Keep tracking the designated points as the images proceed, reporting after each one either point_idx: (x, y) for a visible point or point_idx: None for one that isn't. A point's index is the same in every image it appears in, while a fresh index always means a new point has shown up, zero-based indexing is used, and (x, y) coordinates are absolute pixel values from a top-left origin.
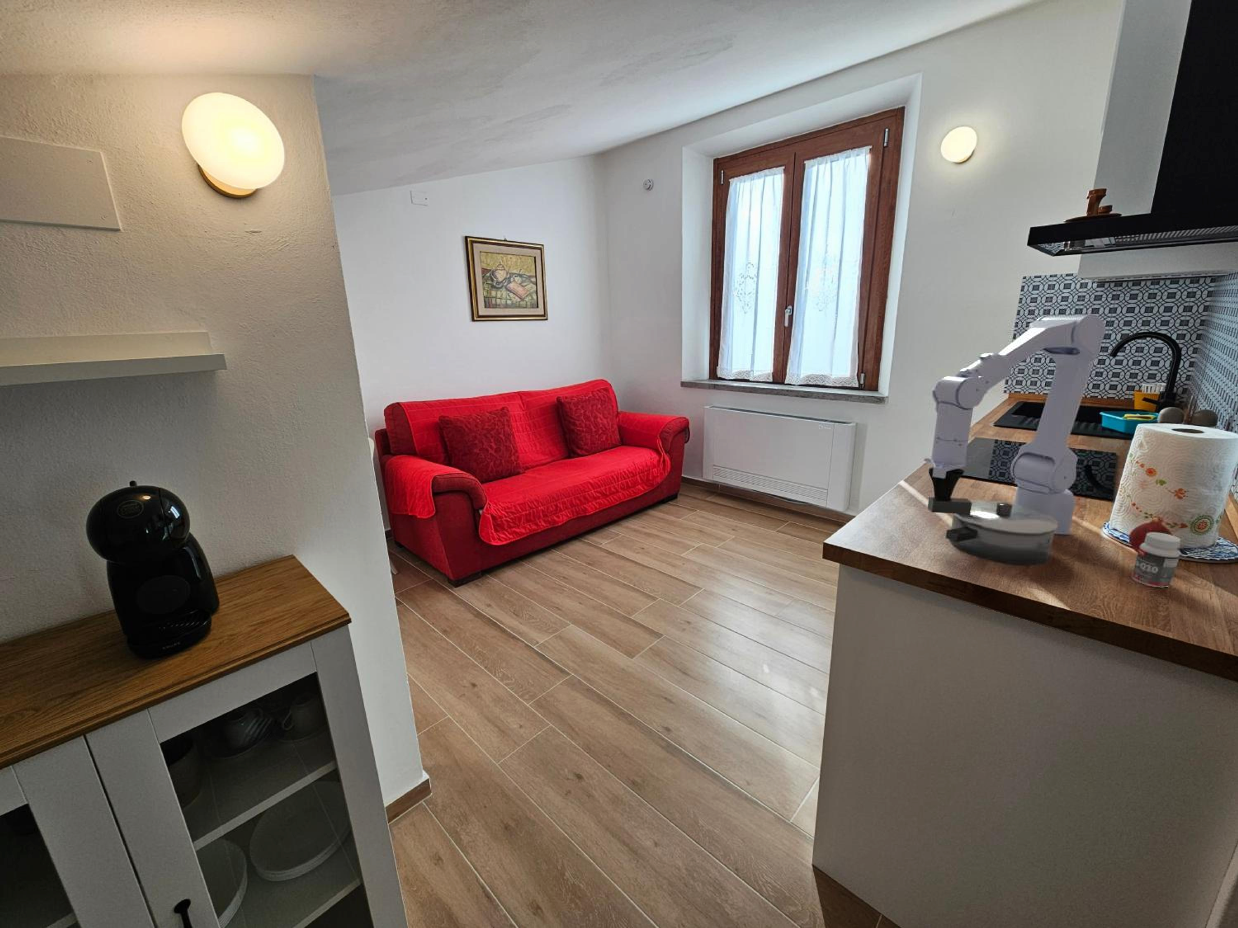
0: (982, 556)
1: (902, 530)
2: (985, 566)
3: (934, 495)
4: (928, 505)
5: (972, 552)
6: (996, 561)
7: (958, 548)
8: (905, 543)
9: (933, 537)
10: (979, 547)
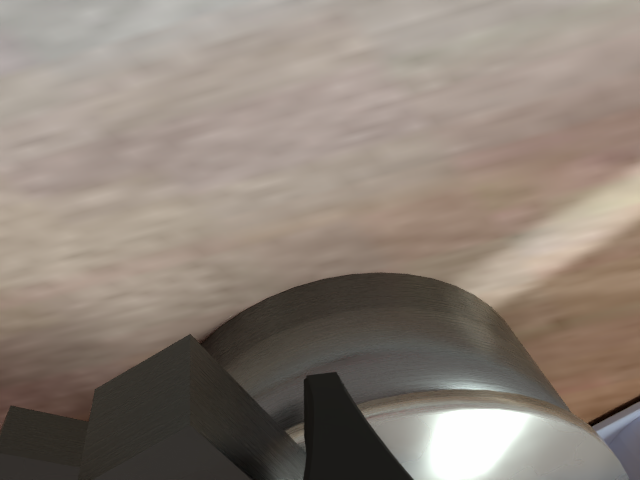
0: None
1: (289, 26)
2: None
3: (314, 421)
4: (177, 364)
5: None
6: None
7: (201, 345)
8: (42, 120)
9: (289, 215)
10: None
